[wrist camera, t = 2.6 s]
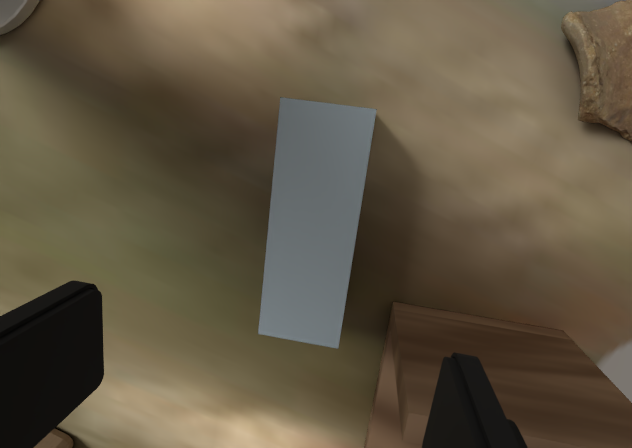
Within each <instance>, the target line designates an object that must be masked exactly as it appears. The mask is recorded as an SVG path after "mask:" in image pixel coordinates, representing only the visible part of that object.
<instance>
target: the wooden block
mask: <svg viewBox="0 0 632 448" xmlns="http://www.w3.org/2000/svg"><path fill="white" fill-rule="evenodd" d="M72 447H73V440H72V439H71V438H70V436H69V435H67V434H65V433H63V432H61V431H59V430H57V429H55V428H54V429H53V430H52V431H51V432H50V433H49V434H48V435H47V436H46V437H45V438H43V439H42V440H41V441H40V442H39V443H38V444H37V445H36V446H35V447H34V448H72Z"/></svg>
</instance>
